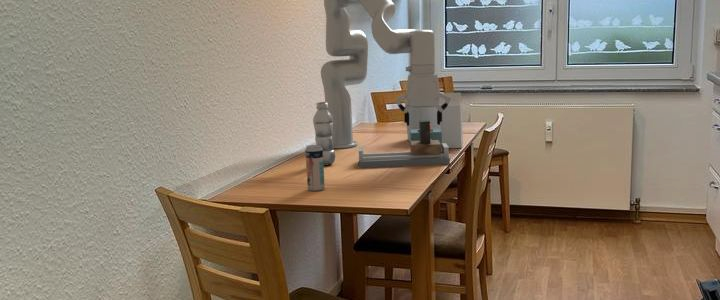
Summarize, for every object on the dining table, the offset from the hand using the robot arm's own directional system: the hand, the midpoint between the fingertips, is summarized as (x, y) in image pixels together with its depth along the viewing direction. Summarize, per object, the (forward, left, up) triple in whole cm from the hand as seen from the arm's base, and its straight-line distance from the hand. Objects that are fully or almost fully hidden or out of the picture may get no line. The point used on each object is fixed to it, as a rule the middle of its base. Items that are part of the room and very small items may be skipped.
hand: (423, 124), depth 224 cm
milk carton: (+11, +25, -12) cm, 30 cm away
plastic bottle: (-32, +1, -12) cm, 34 cm away
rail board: (-7, -1, -12) cm, 14 cm away
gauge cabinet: (+1, +12, -12) cm, 17 cm away
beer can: (-32, -35, -12) cm, 48 cm away
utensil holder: (+3, +44, -12) cm, 46 cm away
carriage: (0, -1, -9) cm, 9 cm away
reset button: (+1, +12, -7) cm, 14 cm away
